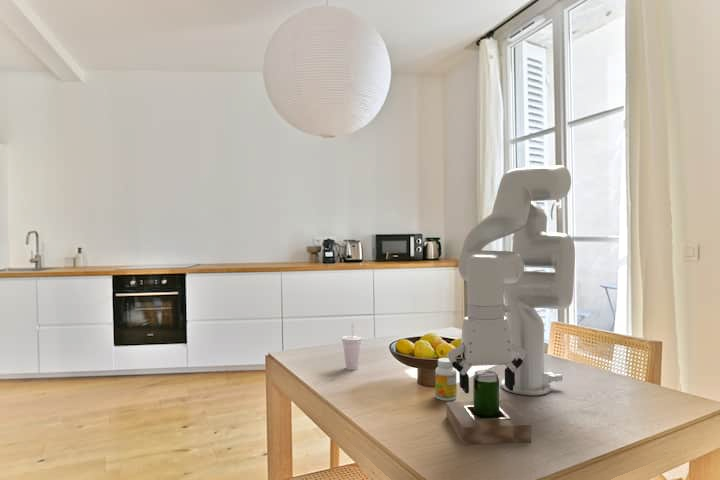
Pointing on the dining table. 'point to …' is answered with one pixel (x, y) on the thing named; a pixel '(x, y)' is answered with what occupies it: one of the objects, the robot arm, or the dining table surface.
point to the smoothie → (352, 350)
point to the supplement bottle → (445, 380)
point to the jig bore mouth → (486, 418)
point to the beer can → (486, 394)
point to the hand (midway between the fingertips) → (487, 389)
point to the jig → (488, 425)
